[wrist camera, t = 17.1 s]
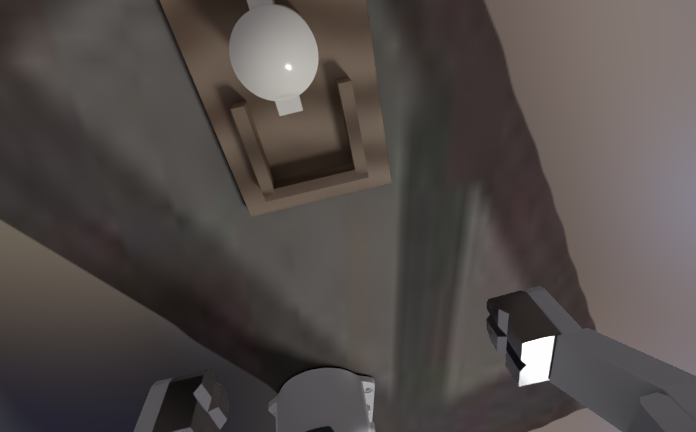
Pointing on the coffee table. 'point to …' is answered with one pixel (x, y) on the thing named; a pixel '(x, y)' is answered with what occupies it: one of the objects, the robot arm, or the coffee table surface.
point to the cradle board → (296, 128)
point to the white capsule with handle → (274, 54)
